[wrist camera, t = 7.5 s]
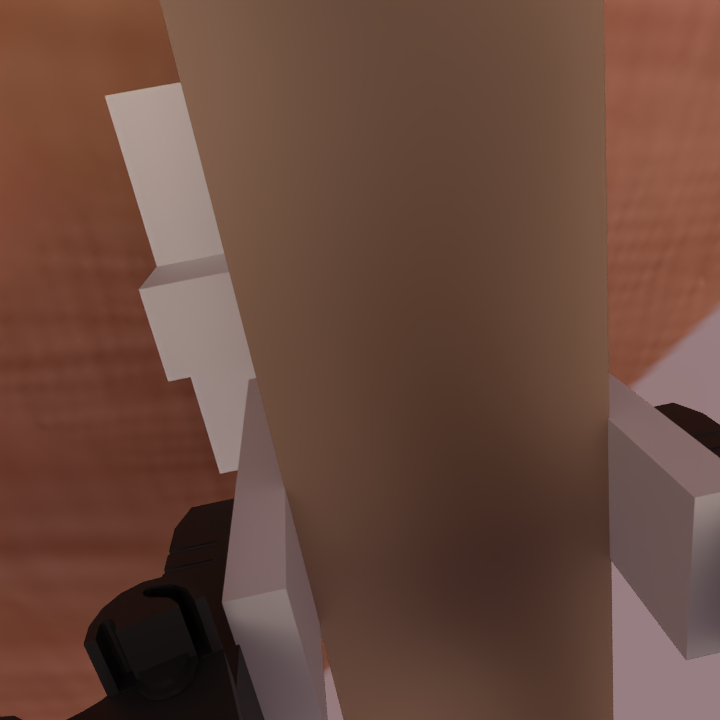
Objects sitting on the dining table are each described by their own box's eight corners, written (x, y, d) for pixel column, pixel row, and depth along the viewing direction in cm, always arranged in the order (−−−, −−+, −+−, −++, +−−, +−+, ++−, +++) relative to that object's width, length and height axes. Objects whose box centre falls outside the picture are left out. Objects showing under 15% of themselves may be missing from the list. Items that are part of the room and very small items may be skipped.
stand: (221, 462, 29) (205, 572, 22) (111, 96, 22) (39, 86, 15) (508, 400, 29) (580, 487, 22) (478, 31, 23) (564, -6, 16)
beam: (371, 741, 18) (403, 951, 14) (160, -158, 10) (57, -402, 5) (532, 704, 19) (616, 897, 14) (454, -204, 10) (597, -474, 6)
